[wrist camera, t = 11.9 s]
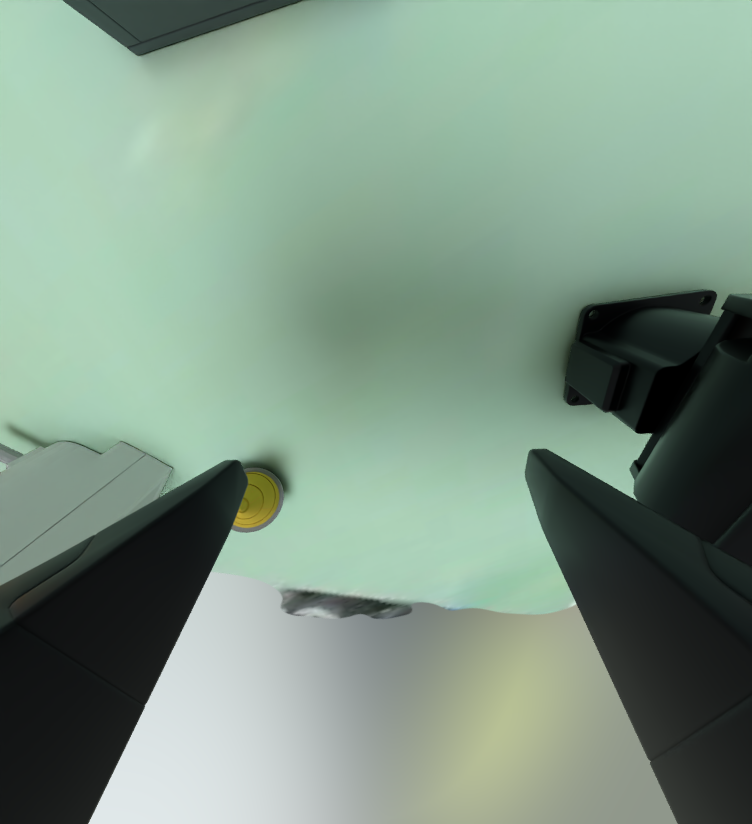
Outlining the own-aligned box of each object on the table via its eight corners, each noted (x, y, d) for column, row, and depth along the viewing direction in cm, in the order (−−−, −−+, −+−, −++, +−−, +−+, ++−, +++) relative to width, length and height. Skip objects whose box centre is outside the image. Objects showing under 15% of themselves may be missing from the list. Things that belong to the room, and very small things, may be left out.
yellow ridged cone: (222, 472, 27) (188, 475, 17) (281, 463, 28) (278, 461, 19) (227, 529, 26) (194, 565, 17) (286, 516, 28) (287, 542, 18)
